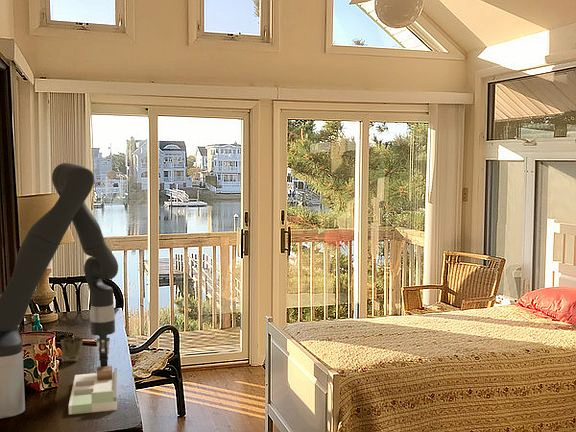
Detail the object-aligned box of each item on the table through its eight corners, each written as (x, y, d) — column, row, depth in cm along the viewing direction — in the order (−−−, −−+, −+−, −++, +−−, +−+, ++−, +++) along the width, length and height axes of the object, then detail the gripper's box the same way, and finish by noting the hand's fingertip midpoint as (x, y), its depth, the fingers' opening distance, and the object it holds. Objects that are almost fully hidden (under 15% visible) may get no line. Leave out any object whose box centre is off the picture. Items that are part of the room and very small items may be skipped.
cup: (60, 364, 226) (59, 342, 225) (62, 359, 233) (61, 337, 232) (82, 363, 228) (82, 340, 227) (83, 357, 235) (83, 335, 234)
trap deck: (116, 409, 183) (116, 390, 183) (68, 414, 180) (68, 395, 180) (117, 378, 210) (116, 362, 210) (75, 382, 207) (74, 365, 207)
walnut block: (112, 379, 202) (111, 370, 202) (97, 380, 201) (96, 371, 201) (112, 374, 206) (111, 365, 206) (97, 376, 205) (97, 367, 205)
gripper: (114, 322, 201) (116, 376, 202) (114, 313, 214) (116, 364, 215) (89, 324, 199) (91, 379, 200) (91, 314, 212) (92, 366, 213)
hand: (104, 371), depth 208 cm, fingers closed
